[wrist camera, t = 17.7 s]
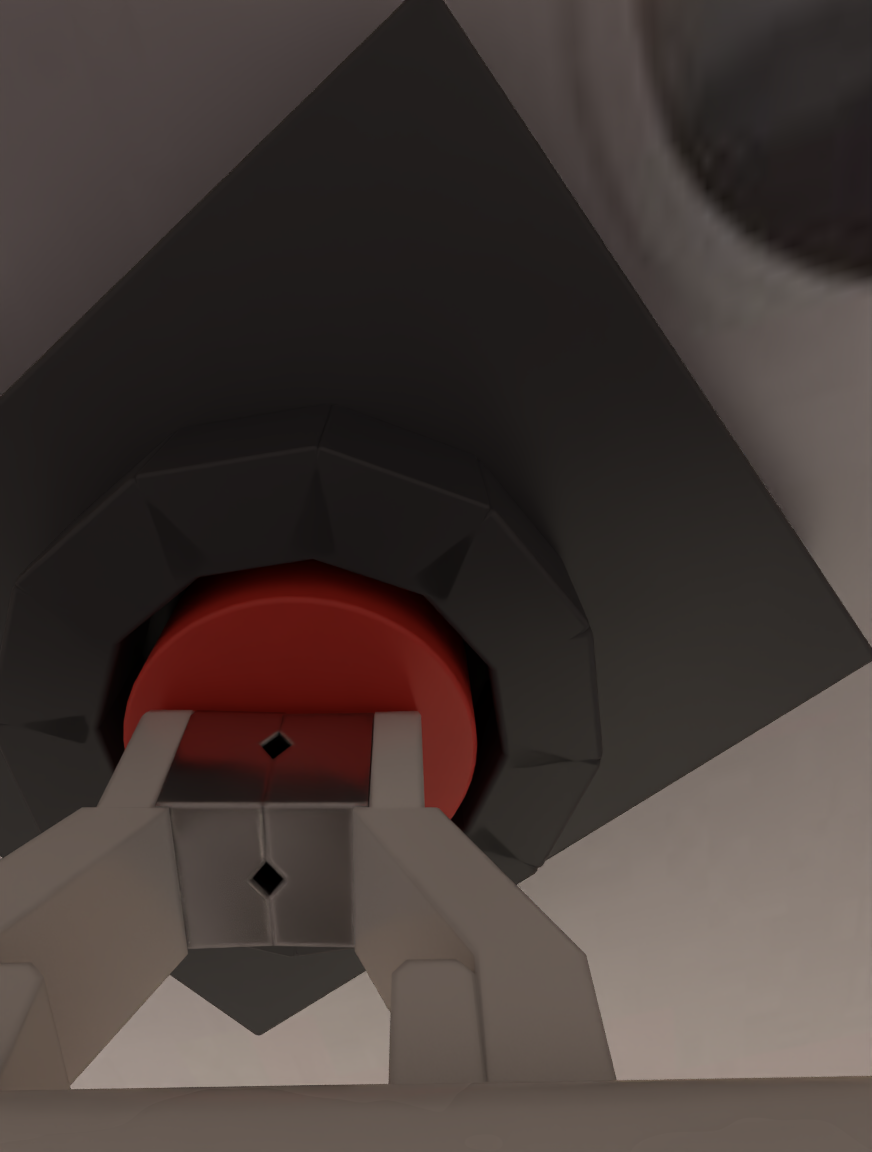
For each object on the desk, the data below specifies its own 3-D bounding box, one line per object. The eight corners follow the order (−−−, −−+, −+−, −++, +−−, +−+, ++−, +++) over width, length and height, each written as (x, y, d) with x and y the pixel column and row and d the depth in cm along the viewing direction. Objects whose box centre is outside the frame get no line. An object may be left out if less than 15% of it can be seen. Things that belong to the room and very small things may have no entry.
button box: (422, 19, 10) (434, -81, 6) (808, 590, 13) (960, 737, 10) (-170, 592, 13) (-398, 751, 9) (275, 935, 16) (239, 1148, 13)
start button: (326, 469, 10) (312, 523, 8) (525, 688, 11) (547, 770, 9) (97, 658, 11) (44, 739, 9) (307, 835, 12) (293, 934, 10)
